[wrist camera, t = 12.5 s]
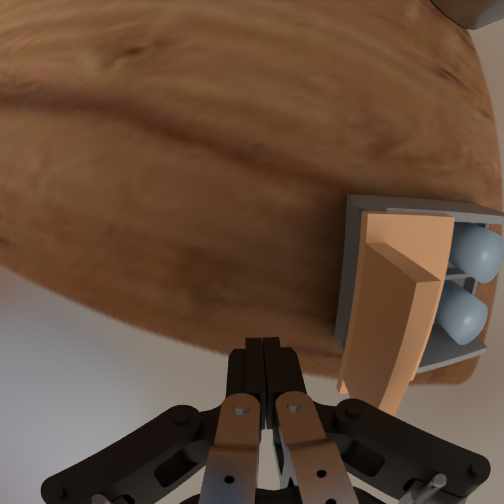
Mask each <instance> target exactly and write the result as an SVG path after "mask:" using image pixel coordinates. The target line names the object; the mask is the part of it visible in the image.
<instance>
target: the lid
mask: <svg viewBox="0 0 504 504" xmlns="http://www.w3.org/2000/svg"><path fill="white" fill-rule="evenodd" d="M454 220H455V217H452V216H449V215H445V214H428V213H408V212H383V211H362V217H361V231H360V244H359V254H358V264H357V273H356V281H355V289H354V296H353V303H352V310H351V316H350V322H349V328H348V334H347V339H346V344H345V350H344V355H343V360H342V364H341V369H340V374H339V378H338V382H337V389H338V392H339V394H345V393H349V395H350V398H355V399H360V400H363V401H365V402H367V403H368V404H370V405H372V406H374V407H376V408H378V409H380V410H382V411H384V412H386V413H388V414H390V415H392V416H394V415H395V413H396V411H397V409H398V406H399V404H400V402H401V400H402V398H403V396H404V393H405V391H406V389H407V386H408V384H409V382H410V381H412V380H413V379H414V376H415V374H416V371H417V369H418V366H419V364H420V361H421V358H422V356H423V353H424V350H425V347H426V344H427V341H428V338H429V335H430V332H431V329H432V326H433V322H434V319H435V315H436V312H437V308H438V305H439V301H440V297H441V293H442V289H443V284H444V280H445V275H446V270H447V265H448V260H449V254H450V248H451V242H452V235H453V228H454Z"/></svg>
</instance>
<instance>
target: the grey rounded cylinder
mask: <svg viewBox="0 0 504 504" xmlns="http://www.w3.org/2000/svg"><path fill="white" fill-rule="evenodd" d="M487 314H488V310H487V306H486V305H485V304H484V303H483V302H481V301H480V300H479V299H477V298H476V297H475V296H473V295H472V294H470V293H469V292H468V291H466V290H465V289H464V288H462V287H461V286H459V285H458V284H457V283H455V282H454V281H452V280H444V284H443V289H442V293H441V297H440V301H439V305H438V308H437V312H436V315H435V319H434V320H435V321H436V322H437V323H438V324H439V325H440V326H441V327H442V328H443V329H444V330H445V331H446V332H447V333H448V334H449V335H450V336H451V337H452V338H453V339H454V340H455V341H456V342H457V343H458V344H459V345H465V344H467V343H469V342H471V341H472V340H473V339H474V338H476V336H477V335H478V334H479V333H480V332H481V330H482V328H483V327H484V324H485V322H486V319H487Z"/></svg>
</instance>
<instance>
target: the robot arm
mask: <svg viewBox="0 0 504 504" xmlns="http://www.w3.org/2000/svg"><path fill="white" fill-rule="evenodd" d="M432 2H433V3H434V4H435V5H436V6H437V7H438V8H439V9H440V10H441V11H442V12H443V13H444V14H445V15H447V16H448V17H449V18H450V19H452V20H453V21H454V22H456V23H457V24H459V25H460V26H463V27H465V28H467V29H471V30H475V29H478V28H481V27H483V26H485V25H488V24H491V23H493V22H496V21H499V20H501V19H504V0H432ZM265 418H266V427H267V429H272V430H273V449H274V454H275V459H276V464H277V469H278V474H279V479H280V490H266V489H260V488H257V483H258V464H259V444H260V442H261V430H262V429H265ZM205 465H206V469H205V473H204V478H203V483H202V488H201V493H200V494H197V495H194V496H192V497H190V498H188V499H186V500H184V501H183V502H181V503H180V504H386V503H384V502H382V501H381V500H379V499H377V498H376V497H374V496H372V495H371V494H369V493H367V492H366V491H364V490H362V489H359V488H357V487H354V486H352V484H351V481H350V479H349V476H348V474H347V472H349V473H350V474H352V475H354V476H355V477H357V478H359V479H360V480H362V481H364V482H366V483H367V484H369V485H371V486H373V487H374V488H376V489H378V490H380V491H382V492H384V493H385V494H387V495H389V496H391V497H393V498H395V499H397V500H399V504H464V503H465V501H466V499H467V497H468V496H469V495H470V494H471V493H472V492H473V491H474V490H476V489H477V488H478V487H479V486H480V485H481V484H482V483H483V482H485V481H486V480H487V478H488V477H489V474H490V470H491V469H490V468H491V467H490V463H489V461H488V460H487V459H486V458H485V457H484V456H482V455H480V454H477V453H474V452H472V451H469V450H466V449H464V448H462V447H459V446H457V445H455V444H452V443H450V442H447V441H445V440H443V439H440V438H438V437H436V436H434V435H432V434H429V433H427V432H425V431H423V430H421V429H418V428H416V427H414V426H412V425H410V424H407V423H406V422H404V421H402V420H400V419H398V418H396V417H394V416H392V415H390V414H388V413H386V412H384V411H382V410H380V409H378V408H376V407H374V406H372V405H370V404H368V403H367V402H365V401H363V400H360V399H355V398H350V399H345V400H343V401H341V402H340V403H339V404H338V405H337V406H328V405H322V404H318V403H316V402H314V401H313V400H312V399H311V397H310V396H308V395H307V392H306V388H305V384H304V380H303V376H302V372H301V370H300V364H299V360H298V356H297V353H296V352H295V351H294V350H293V349H292V348H291V347H285V348H281V347H280V341H279V337H266V338H263V339H262V338H246V349H234V350H233V351H232V352H231V354H230V355H229V360H228V373H227V388H226V398H225V400H224V401H223V403H222V404H221V405H220V406H218V407H216V408H214V409H212V410H208V411H203V412H199V411H198V410H197V409H196V408H194V407H192V406H188V405H177V406H174V407H171V408H169V409H168V410H166V411H165V412H163V413H162V414H160V415H159V416H157V417H156V418H154V419H153V420H151V421H149V422H148V423H146V424H145V425H143V426H142V427H140V428H138V429H137V430H135V431H134V432H132V433H130V434H128V435H127V436H125V437H123V438H122V439H120V440H119V441H117V442H115V443H113V444H112V445H110V446H108V447H106V448H105V449H103V450H101V451H99V452H98V453H96V454H94V455H92V456H90V457H88V458H86V459H85V460H83V461H81V462H79V463H77V464H75V465H73V466H71V467H69V468H67V469H65V470H63V471H61V472H59V473H57V474H55V475H53V476H51V477H49V478H47V479H46V480H45V481H44V482H43V484H42V486H41V496H42V498H43V500H44V501H45V503H46V504H154V503H156V502H157V501H159V500H160V499H161V498H163V497H165V496H166V495H167V494H169V493H170V492H171V491H173V490H174V489H176V488H177V487H178V486H179V485H181V484H182V483H183V482H185V481H186V480H187V479H189V478H190V477H191V476H193V475H194V474H195V473H196V472H198V471H199V470H200V469H201V468H202V467H204V466H205Z"/></svg>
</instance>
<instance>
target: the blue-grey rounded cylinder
mask: <svg viewBox="0 0 504 504" xmlns="http://www.w3.org/2000/svg"><path fill="white" fill-rule="evenodd" d="M503 259H504V241H503V239H502V237H501V236H500V235H499V234H497V233H495V232H493V231H490V230H488V229H485V228H483V227H480V226H478V225H475V224H473V223H470V222H454V228H453V235H452V242H451V248H450V254H449V260H448V262H449V263H451V264H453V265H454V266H456V267H457V268H459V269H461V270H462V271H464V272H465V273H467V274H468V275H470V276H471V277H473V278H474V279H476V280H477V281H479V282H481V283H487V282H489V281H491V280H492V279H493V278H494V277H495V276H496V275H497V273H498V271H499V270H500V267H501V265H502V262H503Z"/></svg>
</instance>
